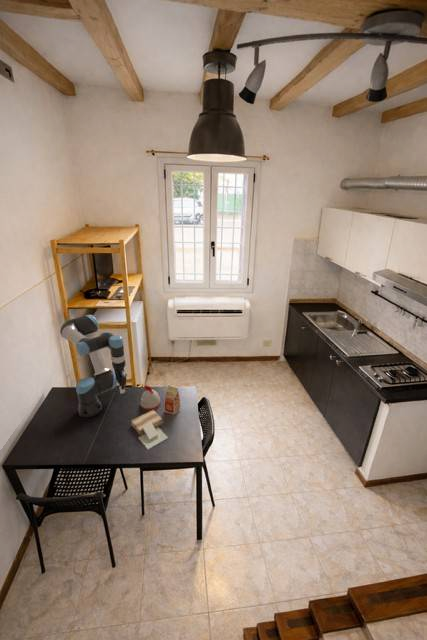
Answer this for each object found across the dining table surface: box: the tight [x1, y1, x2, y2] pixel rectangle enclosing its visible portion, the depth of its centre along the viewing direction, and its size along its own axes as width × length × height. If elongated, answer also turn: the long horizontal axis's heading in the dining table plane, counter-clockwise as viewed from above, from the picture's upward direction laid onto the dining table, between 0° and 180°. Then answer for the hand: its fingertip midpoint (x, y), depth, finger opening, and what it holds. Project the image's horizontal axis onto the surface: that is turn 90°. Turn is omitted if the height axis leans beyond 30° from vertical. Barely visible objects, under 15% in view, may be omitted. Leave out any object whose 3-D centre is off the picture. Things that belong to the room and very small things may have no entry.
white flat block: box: [142, 422, 158, 440], centre depth 191 cm, size 9×6×2 cm, turn 41°
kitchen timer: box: [140, 384, 161, 411], centre depth 217 cm, size 14×14×15 cm
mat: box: [137, 426, 169, 450], centre depth 191 cm, size 12×14×1 cm
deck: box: [130, 409, 164, 437], centre depth 200 cm, size 12×16×4 cm
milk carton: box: [163, 384, 181, 415], centre depth 211 cm, size 9×9×20 cm
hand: (122, 392), depth 194 cm, fingers closed
